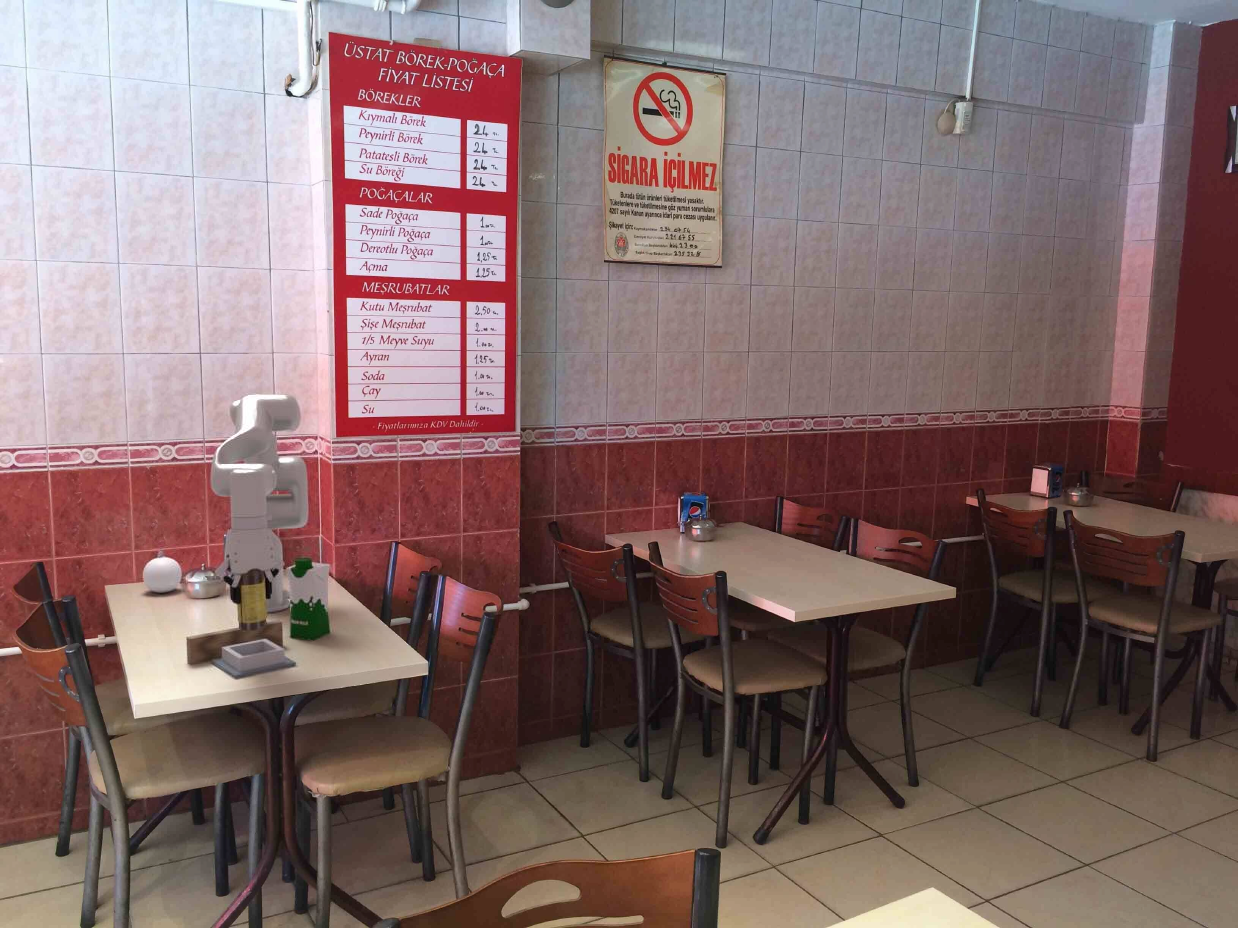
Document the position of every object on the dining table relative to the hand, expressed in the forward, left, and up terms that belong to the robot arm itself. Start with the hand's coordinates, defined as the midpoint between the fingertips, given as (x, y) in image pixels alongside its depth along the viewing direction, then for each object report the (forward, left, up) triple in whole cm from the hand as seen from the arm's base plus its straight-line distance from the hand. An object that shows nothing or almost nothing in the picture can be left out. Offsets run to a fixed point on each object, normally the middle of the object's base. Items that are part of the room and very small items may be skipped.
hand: (251, 599), depth 228 cm
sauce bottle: (0, 0, -7) cm, 7 cm away
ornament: (-6, -80, -16) cm, 82 cm away
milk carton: (-20, -13, -15) cm, 28 cm away
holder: (0, 0, -15) cm, 15 cm away
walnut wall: (0, -10, -15) cm, 18 cm away
